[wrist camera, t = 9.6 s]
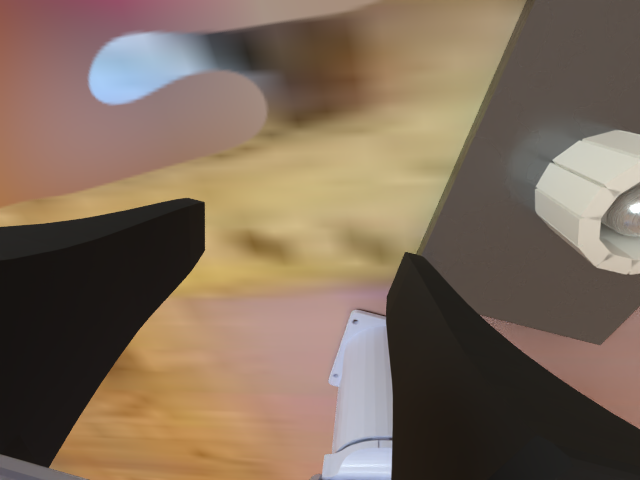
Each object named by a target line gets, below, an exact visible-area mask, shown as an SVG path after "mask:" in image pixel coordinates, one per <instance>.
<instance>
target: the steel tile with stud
mask: <svg viewBox="0 0 640 480" xmlns="http://www.w3.org/2000/svg"><path fill="white" fill-rule="evenodd" d="M614 130H617V131H618V130H621V131H626V132H630V133H635V134H640V0H527V1H526V4H525V6H524V8H523V10H522V13H521V15H520V17H519V20H518V22H517V24H516V27H515V29H514V31H513V33H512V36H511V38H510V40H509V43H508V45H507V47H506V50H505V52H504V54H503V56H502V59H501V61H500V63H499V66H498V68H497V70H496V73H495V75H494V77H493V79H492V82H491V84H490V86H489V89H488V91H487V93H486V95H485V98H484V100H483V102H482V105H481V107H480V109H479V112H478V114H477V116H476V118H475V121H474V123H473V125H472V128H471V130H470V132H469V135H468V137H467V139H466V141H465V144H464V146H463V148H462V151H461V153H460V155H459V157H458V160H457V162H456V164H455V167H454V169H453V171H452V174H451V176H450V178H449V180H448V183H447V185H446V187H445V190H444V192H443V194H442V197H441V199H440V201H439V203H438V206H437V208H436V210H435V213H434V215H433V217H432V219H431V222H430V224H429V226H428V229H427V231H426V233H425V236H424V238H423V240H422V242H421V245H420V247H419V249H418V252H417V254H416V255H420V256H423V257H424V258H425V259H426V260H427V261H428V262H429V263H430V264H431V265H432V266H433V267H434V268H435V269H436V270H437V271H438V272H439V273H440V275H441V276H442V277H443V278H444V279H445V280H446V281H447V282H448V283H449V285H450V286H451V287H452V288H453V289H454V290H455V291H456V292H457V293H458V294H459V295H460V296H461V297H462V298H463V299H464V300H465V301H466V302H467V304H468V305H470V306H471V307H472V308H473V309H474V310H475V311H476V312H477V313H478V314H479V315H483V316H487V317H491V318H495V319H499V320H503V321H507V322H511V323H515V324H519V325H523V326H527V327H530V328H534V329H538V330H542V331H546V332H550V333H554V334H558V335H562V336H566V337H570V338H574V339H578V340H582V341H586V342H590V343H594V344H598V345H601V344H602V343H603V342H604V341H605V340H606V339H607V338H608V337H609V336H610V335H611V334H612V333H613V332H614V331H615V330H616V329H617V328H618V327H619V326H620V325H621V324H622V323H623V322H624V321H625V320H626V319H627V318H628V317H629V316H630V315H631V314H632V313H633V312H634V311H635V310H636V309H637V308H638V307H639V306H640V273H639V274H632V275H630V274H627V275H625V274H621V273H617V272H613V271H609V270H605V269H601V268H597V267H596V266H594V265H593V264H591V263H590V262H589V261H588V260H587V259H586V258H584V257H583V256H582V255H581V254H580V253H578V252H577V251H576V250H575V249H574V248H573V247H571V246H570V245H569V244H568V243H567V242H565V241H564V240H563V239H562V238H561V237H560V236H558V235H557V234H556V233H555V232H554V231H553V230H551V229H550V228H549V227H548V226H547V225H546V223H545V222H544V221H543V220H542V219H541V218H540V217H539V216H538V215H537V212H536V211H535V189H537V187H536V185H537V183H538V182H539V180H540V178H541V177H542V175H543V173H544V172H545V170H546V168H547V167H548V165H549V163H554V162H553V161H552V160H553V159H554V158H556V157H557V156H558V155H560V154H561V153H563V152H564V151H565V150H567V149H568V148H569V147H571V146H572V145H573V144H575V143H576V142H578V141H579V140H580V141H582V139H583V138H587V137H591V136H595V135H599V134H602V133H606V132H610V131H614ZM554 164H555V163H554ZM601 223H603V224H604V225H606V226H607V227H609V228H611V229H612V230H614V231H616V232H618V233H620V234H623V235H628V236H640V182H639V183H637V184H636V185H634V186H632V187H631V188H629V189H628V190H626V191H624V192H623V193H621V194H619V195H618V196H617V198H616V199H615V200H614V202H613V203H612V204H611V206H610V207H609V208H608V210H607V211H606V212H605V214H604V215H603V216H602V218H601Z"/></svg>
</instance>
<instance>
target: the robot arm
mask: <svg viewBox="0 0 640 480" xmlns="http://www.w3.org/2000/svg"><path fill="white" fill-rule="evenodd" d="M204 251H205V202H202V201H198V200H194V199H190V198H183V199H176V200H171V201H166V202H161V203H157V204H152V205H148V206H143V207H139V208H134V209H130V210H125V211H120V212H115V213H110V214H105V215H100V216H95V217H89V218H83V219H76V220H69V221H61V222H53V223H45V224H34V225H21V226H8V227H0V480H88V479H85V478H81V477H78V476H74V475H71V474H67V473H64V472H60V471H57V470H53V469H50V468H49V466H50V465H51V463H52V461H53V459H54V458H55V456H56V454H57V453H58V451H59V449H60V448H61V446H62V444H63V443H64V441H65V439H66V438H67V436H68V434H69V433H70V431H71V429H72V428H73V426H74V424H75V423H76V421H77V420H78V418H79V416H80V415H81V413H82V412H83V410H84V409H85V407H86V406H87V404H88V402H89V401H90V399H91V398H92V396H93V395H94V393H95V392H96V390H97V389H98V387H99V385H100V384H101V382H102V381H103V380H104V378H105V377H106V375H107V374H108V372H109V371H110V369H111V368H112V367H113V365H114V364H115V362H116V361H117V359H118V358H119V356H120V355H121V354H122V352H123V351H124V350H125V348H126V347H127V345H128V344H129V343H130V341H131V340H132V339H133V337H134V336H135V335H136V333H137V332H138V330H139V329H140V328H141V327H142V326H143V324H144V323H145V322H146V321H147V320H148V318H149V317H150V316H151V315H152V314H153V313H154V312H155V311H156V310H157V308H158V307H159V306H160V305H161V304H162V303H163V302H164V301H165V300H166V299H167V298H168V296H169V295H170V294H171V293H172V292H173V291H174V290H175V289H176V288H177V287H178V286H179V284H180V283H181V282H182V281H183V280H184V279H185V278H186V277H187V275H188V274H189V273H190V272H191V271H192V269H193V268H194V266H195V265H196V263H197V262H198V260H199V259H200V257H201V256H202V254H203V253H204ZM354 320H358V321H354ZM329 384H331V385H333V386H337V387H338V397H337V406H336V416H335V425H334V435H333V444H332V454H325V455H324V464H323V472H322V474H316V475H314V476H312V477H311V478H310V479H309V480H640V429H638V428H637V427H635V426H633V425H632V424H630V423H628V422H626V421H625V420H623V419H621V418H620V417H618V416H616V415H614V414H613V413H611V412H610V411H608V410H606V409H605V408H603V407H602V406H600V405H599V404H597V403H595V402H594V401H592V400H591V399H589V398H588V397H586V396H585V395H583V394H581V393H580V392H578V391H577V390H575V389H574V388H572V387H571V386H569V385H568V384H566V383H565V382H563V381H562V380H561V379H559V378H558V377H556V376H555V375H553V374H552V373H550V372H549V371H548V370H546V369H545V368H544V367H542V366H541V365H539V364H538V363H537V362H535V361H534V360H533V359H531V358H530V357H529V356H527V355H526V354H525V353H523V352H522V351H521V350H519V349H518V348H517V347H516V346H514V345H513V344H512V343H511V342H510V341H508V340H507V339H506V338H505V337H504V336H502V335H501V334H500V333H499V332H498V331H496V330H495V329H494V328H493V327H492V326H491V325H490V324H488V323H487V322H486V321H485V320H484V319H483V318H482V317H481V316H480V315H479V314H478V313H477V312H476V311H475V310H474V309H473V308H472V307H471V306H470V305H468V304H467V302H466V301H465V300H464V299H463V298H462V297H461V296H460V295H459V294H458V293H457V292H456V291H455V290H454V289H453V288H452V287H451V286H450V285H449V283H448V282H447V281H446V280H445V279H444V278H443V277H442V276H441V275H440V273H439V272H438V271H437V270H436V269H435V268H434V267H433V266H432V265H431V264H430V263H429V262H428V261H427V260H426V259H425V258H424V257H423V256H420V255H416V254H412V253H408V252H405V254H404V256H403V259H402V261H401V264H400V266H399V269H398V271H397V273H396V276H395V278H394V281H393V283H392V286H391V288H390V290H389V293H388V295H387V305H386V317H384V316H381V315H377V314H373V313H369V312H365V311H361V310H353V311H352V312H351V315H350V318H349V321H348V323H347V326H346V329H345V332H344V335H343V338H342V341H341V344H340V347H339V350H338V353H337V356H336V359H335V362H334V364H333V367H332V370H331V373H330V376H329Z"/></svg>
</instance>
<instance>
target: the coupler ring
mask: <svg viewBox="0 0 640 480" xmlns="http://www.w3.org/2000/svg"><path fill="white" fill-rule="evenodd" d="M552 161H553V162H554V163H555V164H554V163H549V165H548V167H547V168H546V170H545V172H544V173H543V175H542V177H541V178H540V180H539V182H538V183H537V185H536V187H537V189H535V211H536V212H537V215H538V216H539V217H540V218H541V219H542V220H543V221H544V222H545V223H546V225H547V226H548V227H549V228H550V229H551V230H553V231H554V232H555V233H556V234H557V235H558V236H560V237H561V238H562V239H563V240H564V241H565V242H567V243H568V244H569V245H570V246H571V247H573V248H574V249H575V250H576V251H577V252H578V253H580V254H581V255H582V256H583V257H584V258H586V259H587V260H588V261H589V262H590V263H591V264H593V265H594V266H596V267H597V268H601V269H605V270H609V271H613V272H617V273H621V274H625V275H627V274H630V275H632V274H639V273H640V236H628V235H623V234H620V233H618V232H616V231H614V230H612V229H611V228H609V227H607V226H606V225H604V224H603V223H601V218H602V216H603V215H604V214H605V212H606V211H607V210H608V208H609V207H610V206H611V204H612V203H613V202H614V200H615V199H616V198H617V196H618V195H619V194H621V193H623V192H624V191H626V190H628V189H629V188H631V187H632V186H634V185H636V184H637V183H639V182H640V134H635V133H630V132H626V131H621V130H618V131H617V130H614V131H610V132H606V133H602V134H599V135H595V136H591V137H587V138H583V139H582V141H580V140H579V141H578V142H576V143H575V144H573V145H572V146H571V147H569V148H568V149H567V150H565V151H564V152H563V153H561V154H560V155H558V156H557V157H556V158H554V159H553V160H552Z"/></svg>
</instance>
